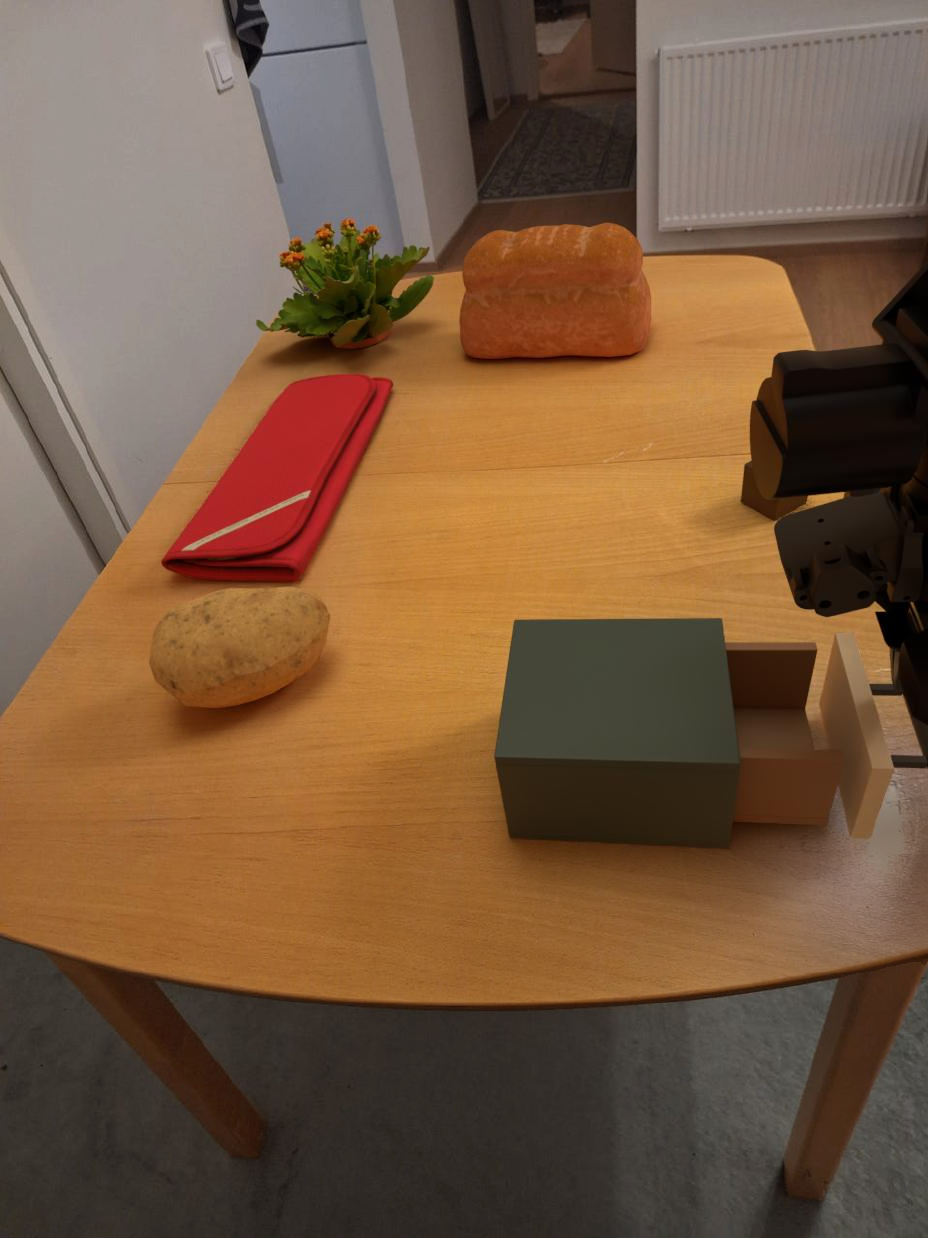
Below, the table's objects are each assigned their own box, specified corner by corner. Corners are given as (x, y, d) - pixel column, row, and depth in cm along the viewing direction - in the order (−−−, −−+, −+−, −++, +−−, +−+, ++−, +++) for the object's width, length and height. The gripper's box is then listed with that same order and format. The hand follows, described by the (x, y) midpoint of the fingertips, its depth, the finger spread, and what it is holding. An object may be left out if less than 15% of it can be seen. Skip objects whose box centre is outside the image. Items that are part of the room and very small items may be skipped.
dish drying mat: (397, 389, 110) (392, 363, 108) (306, 583, 81) (296, 554, 78) (290, 396, 114) (282, 371, 111) (166, 584, 84) (152, 556, 82)
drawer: (900, 705, 58) (923, 632, 54) (945, 843, 50) (977, 771, 45) (648, 701, 62) (649, 633, 57) (652, 830, 54) (653, 762, 49)
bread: (478, 325, 123) (464, 218, 112) (654, 319, 115) (656, 205, 105) (455, 365, 113) (437, 253, 103) (645, 362, 106) (646, 241, 96)
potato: (197, 650, 76) (157, 572, 69) (347, 637, 74) (320, 555, 68) (164, 734, 68) (116, 654, 62) (330, 721, 66) (298, 638, 60)
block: (772, 484, 82) (777, 446, 79) (807, 502, 79) (813, 463, 76) (740, 501, 81) (744, 463, 78) (774, 520, 78) (780, 481, 75)
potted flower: (349, 299, 139) (323, 188, 127) (470, 307, 128) (453, 187, 117) (259, 364, 124) (220, 245, 112) (387, 379, 113) (358, 249, 102)
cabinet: (713, 704, 62) (722, 617, 56) (729, 849, 53) (741, 763, 47) (525, 702, 65) (513, 619, 59) (509, 838, 56) (493, 757, 50)
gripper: (773, 388, 48) (747, 589, 58) (831, 596, 34) (785, 810, 44) (982, 376, 45) (917, 587, 56) (1133, 593, 32) (1010, 819, 42)
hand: (902, 686), depth 50 cm, fingers closed
